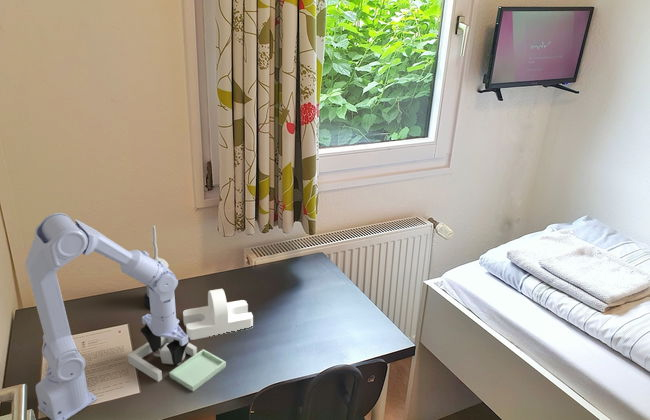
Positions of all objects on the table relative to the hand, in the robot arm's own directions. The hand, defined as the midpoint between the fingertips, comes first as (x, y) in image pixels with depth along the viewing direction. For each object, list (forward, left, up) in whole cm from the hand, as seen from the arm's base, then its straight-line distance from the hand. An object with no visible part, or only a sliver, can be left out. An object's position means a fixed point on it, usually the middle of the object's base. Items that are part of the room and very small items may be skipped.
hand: (167, 356), depth 129 cm
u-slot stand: (+19, +1, -2) cm, 19 cm away
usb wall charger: (0, 0, -2) cm, 2 cm away
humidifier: (+16, +22, -2) cm, 27 cm away
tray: (+2, -9, -1) cm, 9 cm away
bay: (0, +1, -1) cm, 2 cm away
